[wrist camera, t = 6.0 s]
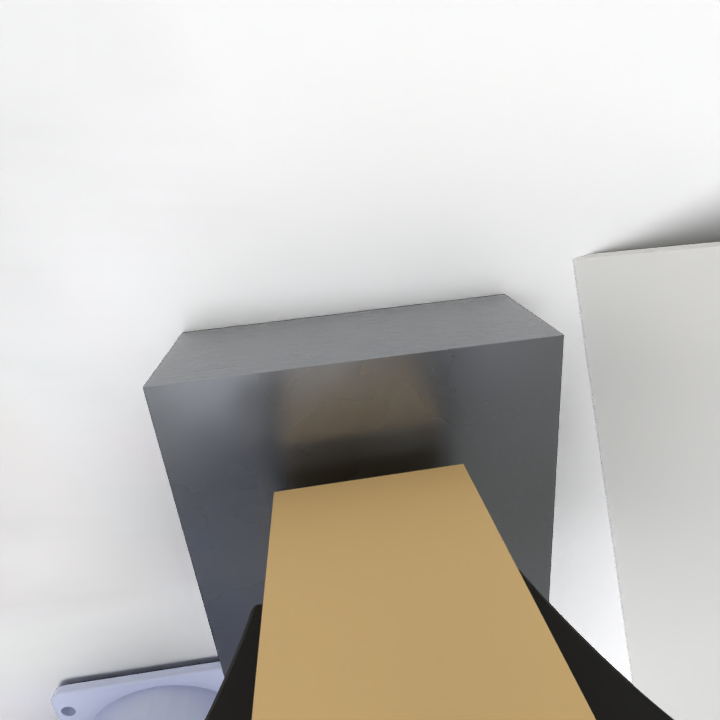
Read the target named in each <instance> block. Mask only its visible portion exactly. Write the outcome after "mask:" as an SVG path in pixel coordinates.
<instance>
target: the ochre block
mask: <svg viewBox="0 0 720 720" xmlns="http://www.w3.org/2000/svg"><path fill="white" fill-rule="evenodd" d="M252 720H596V719H595V717H594V715H593V713H592V711H591V709H590V707H589V705H588V703H587V701H586V699H585V697H584V696H583V694H582V692H581V690H580V688H579V686H578V684H577V682H576V680H575V678H574V676H573V674H572V672H571V670H570V669H569V667H568V665H567V663H566V661H565V659H564V657H563V655H562V653H561V651H560V649H559V647H558V645H557V643H556V642H555V640H554V638H553V636H552V634H551V632H550V630H549V628H548V626H547V624H546V622H545V620H544V618H543V616H542V615H541V613H540V611H539V609H538V607H537V605H536V603H535V601H534V599H533V597H532V595H531V593H530V591H529V589H528V588H527V586H526V584H525V582H524V580H523V578H522V576H521V574H520V572H519V570H518V568H517V566H516V564H515V562H514V561H513V559H512V557H511V555H510V553H509V551H508V549H507V547H506V545H505V543H504V541H503V539H502V537H501V535H500V534H499V532H498V530H497V528H496V526H495V524H494V522H493V520H492V518H491V516H490V514H489V512H488V510H487V509H486V507H485V505H484V503H483V501H482V499H481V497H480V495H479V493H478V491H477V489H476V487H475V485H474V483H473V482H472V480H471V478H470V476H469V474H468V472H467V470H466V468H465V466H464V464H459V465H452V466H445V467H439V468H432V469H425V470H418V471H412V472H405V473H398V474H392V475H385V476H378V477H371V478H365V479H358V480H351V481H345V482H338V483H331V484H324V485H318V486H311V487H304V488H298V489H291V490H284V491H277V492H274V497H273V507H272V517H271V527H270V538H269V548H268V558H267V568H266V578H265V588H264V599H263V609H262V619H261V629H260V639H259V650H258V660H257V670H256V680H255V690H254V701H253V711H252Z"/></svg>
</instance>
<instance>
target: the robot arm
mask: <svg viewBox="0 0 720 720" xmlns="http://www.w3.org/2000/svg"><path fill="white" fill-rule="evenodd" d="M518 570H519V569H518ZM519 572H520V574H521V576H522V578H523V580H524V582H525V584H526V586H527V588H528V589H529V591H530V593H531V595H532V597H533V599H534V601H535V603H536V605H537V607H538V609H539V611H540V613H541V615H542V616H543V618H544V620H545V622H546V624H547V626H548V628H549V630H550V632H551V634H552V636H553V638H554V640H555V642H556V643H557V645H558V647H559V649H560V651H561V653H562V655H563V657H564V659H565V661H566V663H567V665H568V667H569V669H570V670H571V672H572V674H573V676H574V678H575V680H576V682H577V684H578V686H579V688H580V690H581V692H582V694H583V696H584V697H585V699H586V701H587V703H588V705H589V707H590V709H591V711H592V713H593V715H594V717H595V719H596V720H674V719H673V718H671V717H670V716H669V715H668V714H667V713H665V712H664V711H663V710H662V709H661V708H659V707H658V706H657V705H656V704H655V703H653V702H652V701H651V700H650V699H649V698H648V697H646V696H645V695H644V694H643V693H642V692H641V691H640V690H638V689H637V688H636V687H635V686H634V685H633V684H632V683H631V682H630V681H628V680H627V679H626V678H625V677H624V676H623V675H622V674H621V673H620V672H618V671H617V670H616V669H615V668H614V667H613V666H612V665H611V664H610V663H609V662H608V661H607V660H606V659H605V658H603V657H602V656H601V655H600V654H599V653H598V652H597V651H596V650H595V649H594V648H593V647H592V646H591V645H590V644H589V643H588V642H587V641H586V640H585V639H584V638H583V637H582V636H581V635H580V634H579V633H578V632H577V631H576V630H575V629H574V628H573V627H572V626H571V625H570V624H569V623H568V622H567V621H566V620H565V619H564V618H563V617H562V616H561V615H560V614H559V612H558V611H557V610H556V609H555V608H554V607H553V606H552V605H551V604H550V603H549V602H548V601H547V600H546V599H545V598H544V596H543V595H542V594H541V593H540V592H539V591H538V590H537V589H536V588H535V586H534V585H533V584H532V583H531V582H530V581H529V580H528V579H527V577H526V576H525V575H524V574H523V573H522V572H521V571H520V570H519ZM262 609H263V604H259V605H255V606H254V607H253V609H252V610H251V612H250V615H249V618H248V621H247V624H246V627H245V629H244V632H243V635H242V637H241V640H240V642H239V645H238V647H237V650H236V652H235V655H234V657H233V659H232V662H231V664H230V666H229V669H228V671H227V673H226V675H225V678H224V675H223V671H222V667H221V664H220V661H218V662H212V663H205V664H199V665H192V666H186V667H179V668H173V669H166V670H160V671H153V672H146V673H140V674H133V675H127V676H120V677H114V678H107V679H101V680H94V681H88V682H81V683H75V684H68V685H64V686H60V687H59V688H57V689H56V691H55V693H54V695H53V697H52V700H51V701H52V705H53V707H54V709H55V711H56V713H57V715H58V718H59V720H252V711H253V701H254V690H255V680H256V670H257V660H258V650H259V639H260V629H261V619H262Z"/></svg>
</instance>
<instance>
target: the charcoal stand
mask: <svg viewBox="0 0 720 720" xmlns="http://www.w3.org/2000/svg"><path fill="white" fill-rule="evenodd" d="M563 339H564V335H563V334H562V333H560V332H559V331H557V330H556V329H554V328H553V327H552V326H550V325H549V324H547V323H546V322H544V321H543V320H541V319H540V318H538V317H537V316H536V315H534V314H533V313H531V312H530V311H528V310H527V309H525V308H524V307H522V306H521V305H520V304H518V303H517V302H515V301H514V300H512V299H511V298H509V297H508V296H506V295H505V294H502V295H494V296H485V297H477V298H469V299H460V300H452V301H444V302H435V303H427V304H419V305H410V306H402V307H394V308H385V309H377V310H369V311H360V312H352V313H344V314H335V315H327V316H318V317H310V318H302V319H293V320H285V321H277V322H268V323H260V324H252V325H243V326H235V327H227V328H218V329H210V330H202V331H193V332H185V333H182V334H181V335H180V337H179V338H178V339H177V341H176V342H175V344H174V345H173V346H172V348H171V349H170V351H169V352H168V353H167V355H166V356H165V357H164V359H163V360H162V362H161V363H160V364H159V366H158V367H157V369H156V370H155V371H154V373H153V374H152V375H151V377H150V378H149V380H148V381H147V382H146V384H145V385H144V386H143V390H144V394H145V397H146V401H147V404H148V408H149V411H150V415H151V419H152V422H153V426H154V429H155V433H156V436H157V440H158V443H159V447H160V451H161V454H162V458H163V461H164V465H165V468H166V472H167V475H168V479H169V483H170V486H171V490H172V493H173V497H174V500H175V504H176V507H177V511H178V515H179V518H180V522H181V525H182V529H183V532H184V536H185V539H186V543H187V547H188V550H189V554H190V557H191V561H192V564H193V568H194V571H195V575H196V579H197V582H198V586H199V589H200V593H201V596H202V600H203V603H204V607H205V611H206V614H207V618H208V621H209V625H210V628H211V632H212V635H213V639H214V643H215V646H216V650H217V653H218V657H219V660H220V664H221V667H222V671H223V675H224V678H225V675H226V673H227V671H228V669H229V666H230V664H231V662H232V659H233V657H234V655H235V652H236V650H237V647H238V645H239V642H240V640H241V637H242V635H243V632H244V629H245V627H246V624H247V621H248V618H249V615H250V612H251V610H252V609H253V607H254V606H255V605H259V604H263V599H264V588H265V578H266V568H267V558H268V548H269V538H270V527H271V517H272V507H273V497H274V492H277V491H284V490H291V489H298V488H304V487H311V486H318V485H324V484H331V483H338V482H345V481H351V480H358V479H365V478H371V477H378V476H385V475H392V474H398V473H405V472H412V471H418V470H425V469H432V468H439V467H445V466H452V465H459V464H464V466H465V468H466V470H467V472H468V474H469V476H470V478H471V480H472V482H473V483H474V485H475V487H476V489H477V491H478V493H479V495H480V497H481V499H482V501H483V503H484V505H485V507H486V509H487V510H488V512H489V514H490V516H491V518H492V520H493V522H494V524H495V526H496V528H497V530H498V532H499V534H500V535H501V537H502V539H503V541H504V543H505V545H506V547H507V549H508V551H509V553H510V555H511V557H512V559H513V561H514V562H515V564H516V566H517V568H518V569H519V570H520V571H521V572H522V573H523V574H524V575H525V576H526V577H527V579H528V580H529V581H530V582H531V583H532V584H533V585H534V586H535V588H536V589H537V590H538V591H539V592H540V593H541V594H542V595H543V596H544V598H545V599H546V600H547V601H548V602H549V590H550V572H551V554H552V536H553V518H554V500H555V482H556V465H557V447H558V429H559V411H560V393H561V375H562V357H563Z"/></svg>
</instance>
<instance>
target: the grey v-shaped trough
mask: <svg viewBox="0 0 720 720" xmlns="http://www.w3.org/2000/svg"><path fill="white" fill-rule="evenodd" d="M573 266H574V273H575V280H576V287H577V294H578V301H579V308H580V315H581V322H582V330H583V337H584V344H585V351H586V358H587V365H588V372H589V379H590V386H591V393H592V400H593V407H594V414H595V421H596V429H597V436H598V443H599V450H600V457H601V464H602V471H603V478H604V485H605V492H606V499H607V506H608V513H609V521H610V528H611V535H612V542H613V549H614V556H615V563H616V570H617V577H618V584H619V591H620V598H621V605H622V612H623V620H624V627H625V634H626V641H627V648H628V655H629V662H630V669H631V676H632V683H633V685H634V686H635V687H636V688H637V689H638V690H640V691H641V692H642V693H643V694H644V695H645V696H646V697H648V698H649V699H650V700H651V701H652V702H653V703H655V704H656V705H657V706H658V707H659V708H661V709H662V710H663V711H664V712H665V713H667V714H668V715H669V716H670V717H671V718H673V719H674V720H720V242H710V243H700V244H689V245H679V246H668V247H658V248H647V249H636V250H626V251H615V252H605V253H594V254H587V255H584V256H581V257H578V258H575V259H573Z"/></svg>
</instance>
